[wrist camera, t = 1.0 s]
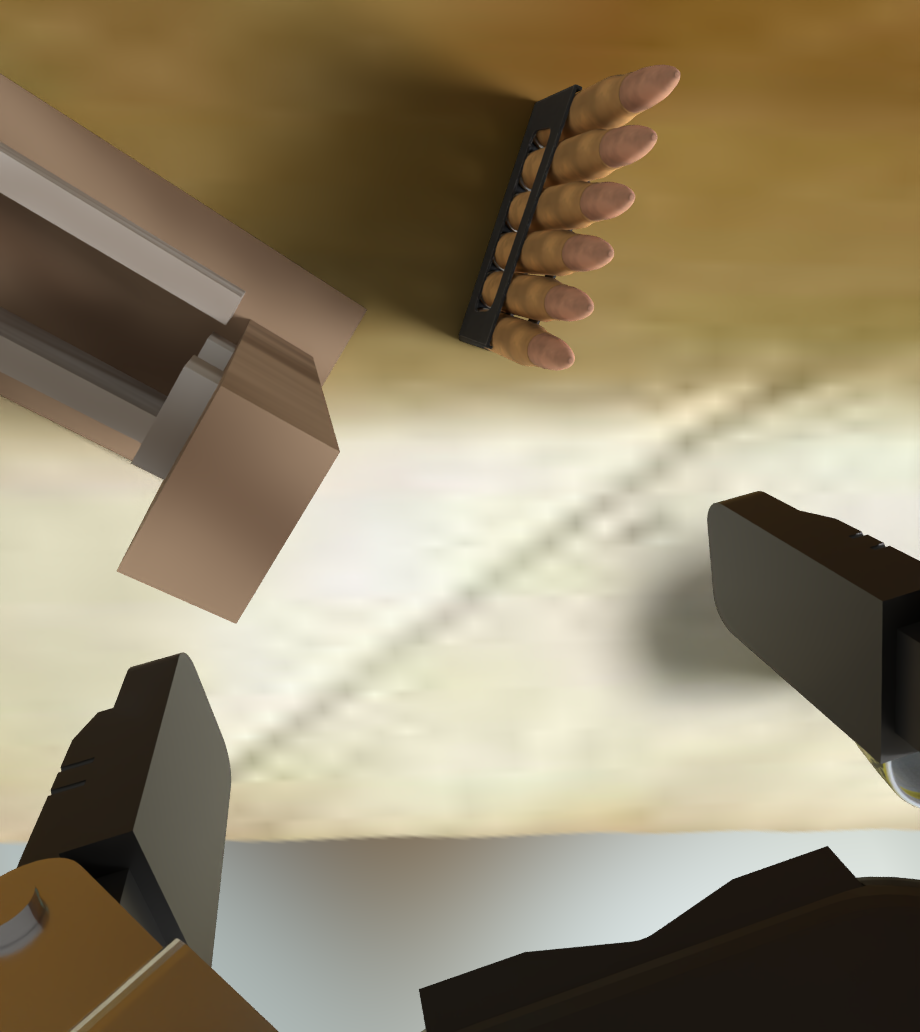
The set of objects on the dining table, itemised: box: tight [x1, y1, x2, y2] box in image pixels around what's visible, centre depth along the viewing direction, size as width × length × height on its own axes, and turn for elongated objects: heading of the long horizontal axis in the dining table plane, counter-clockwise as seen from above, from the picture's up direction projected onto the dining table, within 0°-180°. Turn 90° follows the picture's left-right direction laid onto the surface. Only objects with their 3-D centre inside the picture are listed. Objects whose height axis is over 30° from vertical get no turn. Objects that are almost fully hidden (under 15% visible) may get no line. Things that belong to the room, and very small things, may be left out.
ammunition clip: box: [459, 65, 680, 370], centre depth 29 cm, size 11×2×12 cm, turn 161°
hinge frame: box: [0, 74, 367, 623], centre depth 23 cm, size 11×19×18 cm, turn 57°
